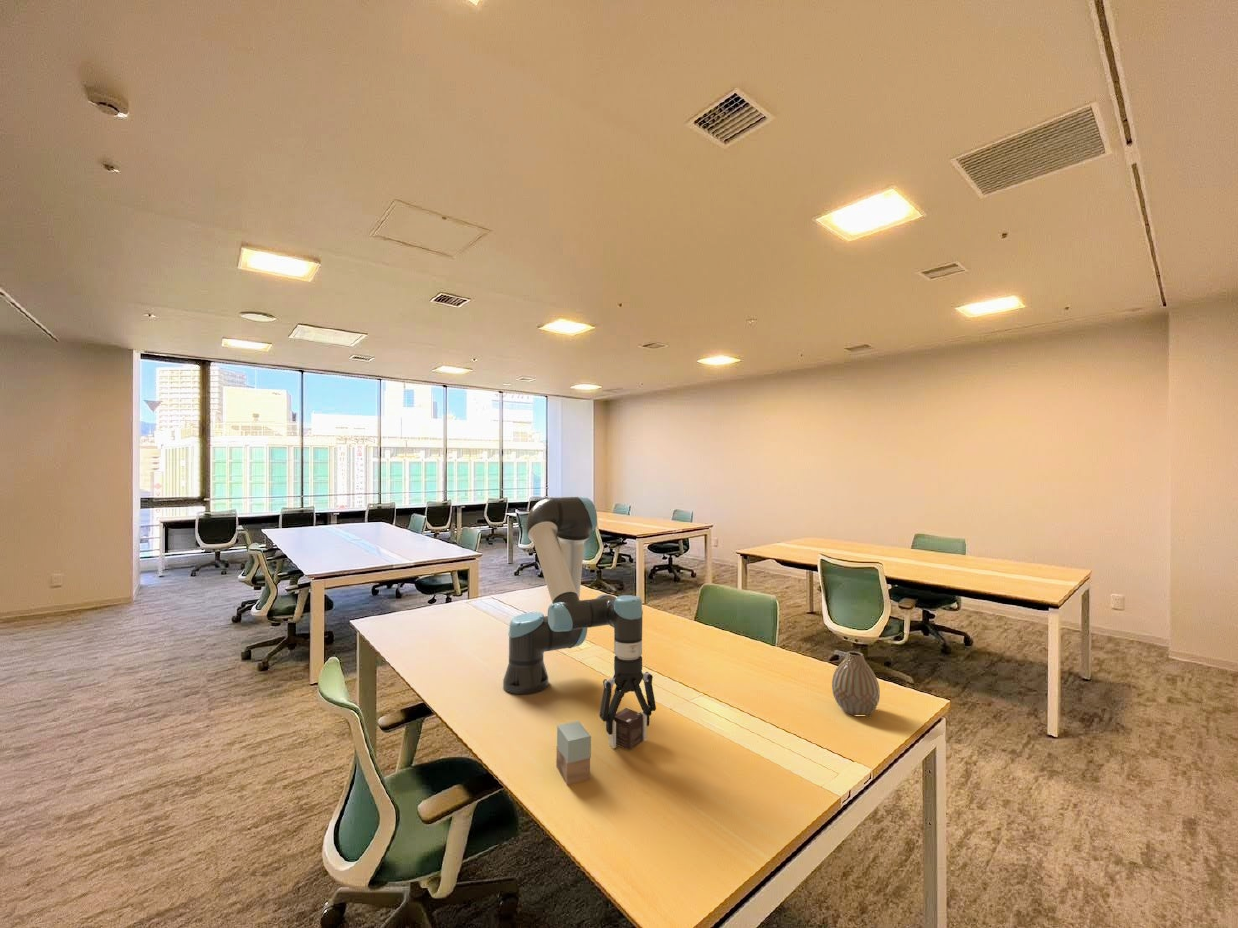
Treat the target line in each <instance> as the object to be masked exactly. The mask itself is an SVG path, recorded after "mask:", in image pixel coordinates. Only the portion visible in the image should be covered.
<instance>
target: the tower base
mask: <svg viewBox="0 0 1238 928" xmlns="http://www.w3.org/2000/svg"><path fill="white" fill-rule="evenodd" d="M555 767H556V769H557V771H558V772H559V774H560V776H561V777H562V779H563V780H564V783H565V784H566V786H569V785H573V784H577V783H580V782H585V781H588V780H590V779H591V771H590V770H591V758H587V759H583V760H579V761H575V762H571V763H567V761H566V759H565V758H564V756H563V755H562V753H561V752H560V750H559V749H558V747H557V746H556V765H555Z"/></svg>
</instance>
